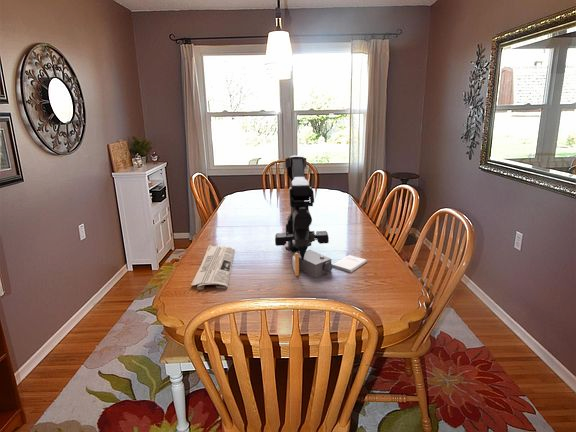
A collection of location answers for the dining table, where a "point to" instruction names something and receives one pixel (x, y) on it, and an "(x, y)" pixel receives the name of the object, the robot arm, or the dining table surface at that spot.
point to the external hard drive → (349, 263)
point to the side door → (295, 263)
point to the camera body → (315, 263)
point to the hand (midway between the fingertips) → (302, 260)
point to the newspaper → (215, 267)
